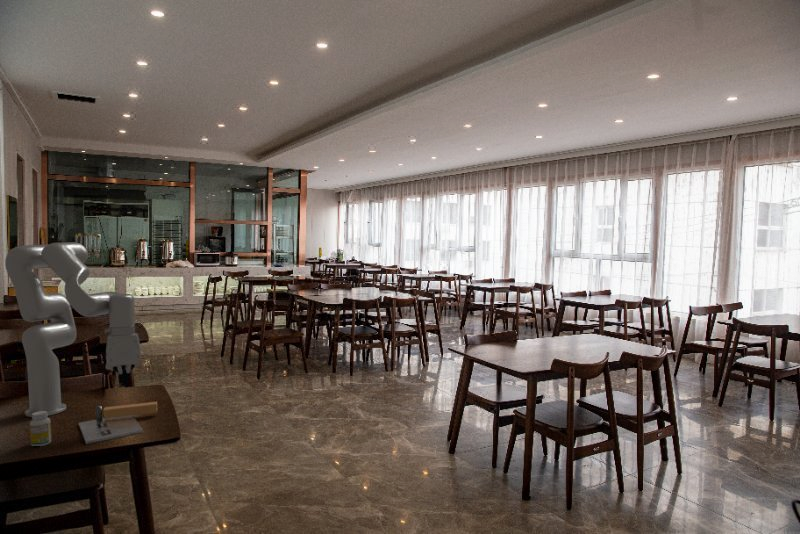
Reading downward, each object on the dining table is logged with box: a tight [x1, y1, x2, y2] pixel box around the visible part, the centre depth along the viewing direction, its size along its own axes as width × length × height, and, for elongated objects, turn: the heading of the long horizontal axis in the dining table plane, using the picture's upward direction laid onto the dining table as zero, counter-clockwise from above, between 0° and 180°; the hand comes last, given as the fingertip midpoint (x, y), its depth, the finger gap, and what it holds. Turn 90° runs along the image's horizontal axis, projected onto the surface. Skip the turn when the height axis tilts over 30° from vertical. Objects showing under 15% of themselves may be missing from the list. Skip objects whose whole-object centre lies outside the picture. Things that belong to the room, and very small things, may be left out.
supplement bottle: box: [29, 411, 52, 447], centre depth 166 cm, size 5×5×10 cm
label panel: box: [78, 405, 144, 445], centre depth 178 cm, size 20×16×6 cm
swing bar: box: [102, 401, 158, 419], centre depth 188 cm, size 16×3×3 cm, turn 110°
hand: (124, 384), depth 183 cm, fingers closed
